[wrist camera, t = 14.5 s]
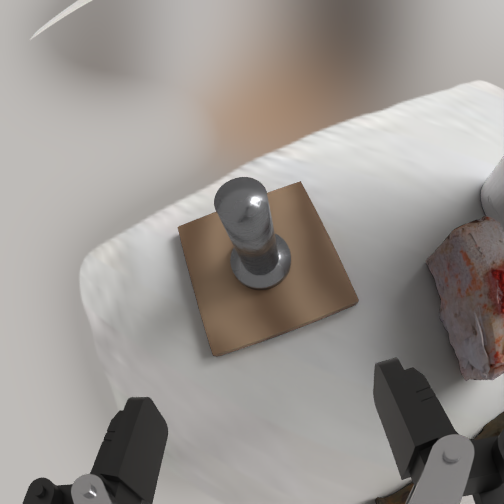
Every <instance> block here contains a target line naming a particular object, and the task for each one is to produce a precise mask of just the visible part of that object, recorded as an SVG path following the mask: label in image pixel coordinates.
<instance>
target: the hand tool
mask: <svg viewBox="0 0 504 504" xmlns="http://www.w3.org/2000/svg"><path fill="white" fill-rule="evenodd" d="M503 429H504V412H502V413H501V414H500V415H499V416H498V417H496V418H495V419H493V420H492V421H490V422H489V423H487V424H486V425H485V426H484V427H483V430H482V433H480V434H479V435H478V436H477V437H476V438H475V439H474V440H478V439H484V438H489V437H494V436H499V435H500V433H501V432H502V431H503ZM413 486H414V484H413V483H411V484H409V485H408V486H406V487H404V488H403V489H401V490H400V491H398V492H396V493H395V494H393V495H391V496H388V497H385V498H379V497H377V498H376V500H375V501H376V504H405V503H406V501H407V499H408V497H409V494H410V492H411V490H412V488H413Z"/></svg>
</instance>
